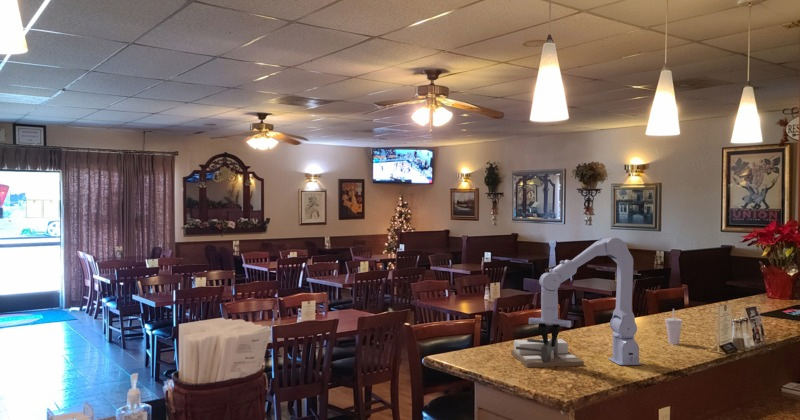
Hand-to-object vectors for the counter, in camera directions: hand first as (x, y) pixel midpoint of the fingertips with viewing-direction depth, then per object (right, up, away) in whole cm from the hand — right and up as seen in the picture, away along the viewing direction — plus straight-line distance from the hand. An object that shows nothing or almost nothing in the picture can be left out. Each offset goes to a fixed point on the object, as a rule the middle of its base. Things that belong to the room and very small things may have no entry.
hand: (549, 345), depth 212 cm
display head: (0, -6, +4) cm, 7 cm away
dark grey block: (-4, -4, +2) cm, 6 cm away
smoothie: (+57, -6, +28) cm, 64 cm away
